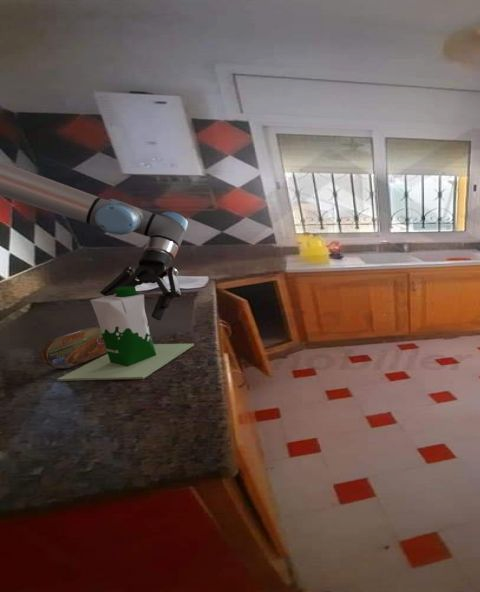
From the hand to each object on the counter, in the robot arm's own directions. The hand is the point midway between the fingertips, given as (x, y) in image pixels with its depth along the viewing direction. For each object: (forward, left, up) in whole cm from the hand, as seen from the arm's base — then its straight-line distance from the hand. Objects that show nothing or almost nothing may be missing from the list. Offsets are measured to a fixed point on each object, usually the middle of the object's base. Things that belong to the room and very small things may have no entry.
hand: (129, 318), depth 86 cm
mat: (0, -2, -12) cm, 12 cm away
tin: (-14, -1, -12) cm, 18 cm away
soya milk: (0, -2, -11) cm, 12 cm away
